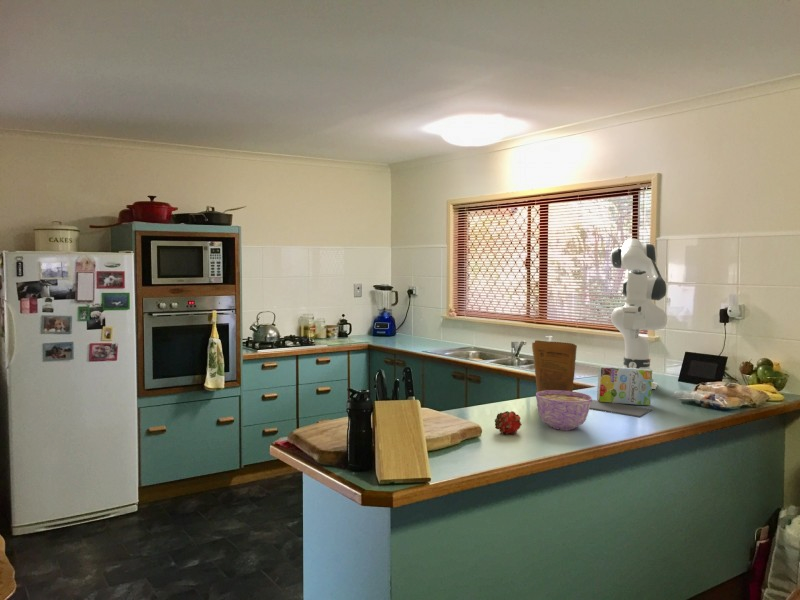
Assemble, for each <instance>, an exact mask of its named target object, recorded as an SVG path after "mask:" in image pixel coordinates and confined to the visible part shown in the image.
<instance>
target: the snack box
mask: <svg viewBox="0 0 800 600" xmlns="http://www.w3.org/2000/svg"><path fill="white" fill-rule="evenodd" d="M597 373H598V374H597V394H596V400H597V401H599V402H609V403H617V404H623V405H640V406H651V398H652V389H651V385H652V373H653V370H652V369H651V370H649V369H637V368H625V367H623V366H621V367H619V366H618V367H617V366H601V365H599V366H598V372H597Z"/></svg>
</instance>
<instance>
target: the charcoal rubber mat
mask: <svg viewBox="0 0 800 600" xmlns="http://www.w3.org/2000/svg"><path fill="white" fill-rule="evenodd" d="M592 409H593V411H601V412H605V411H606V412H607V413H611V412H612V413H613V414H618V415H624V416H632V417H635V418H636V417H637V418H641V417H643V416H645V415H647V414H648V413H650V412H651V410H653V408H648V407H641V406H634V405H631V404H623V403H609V402H599V401H598V400H597V399H592V402H591V405H590V409H589V410H592ZM612 413H611V414H612Z"/></svg>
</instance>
